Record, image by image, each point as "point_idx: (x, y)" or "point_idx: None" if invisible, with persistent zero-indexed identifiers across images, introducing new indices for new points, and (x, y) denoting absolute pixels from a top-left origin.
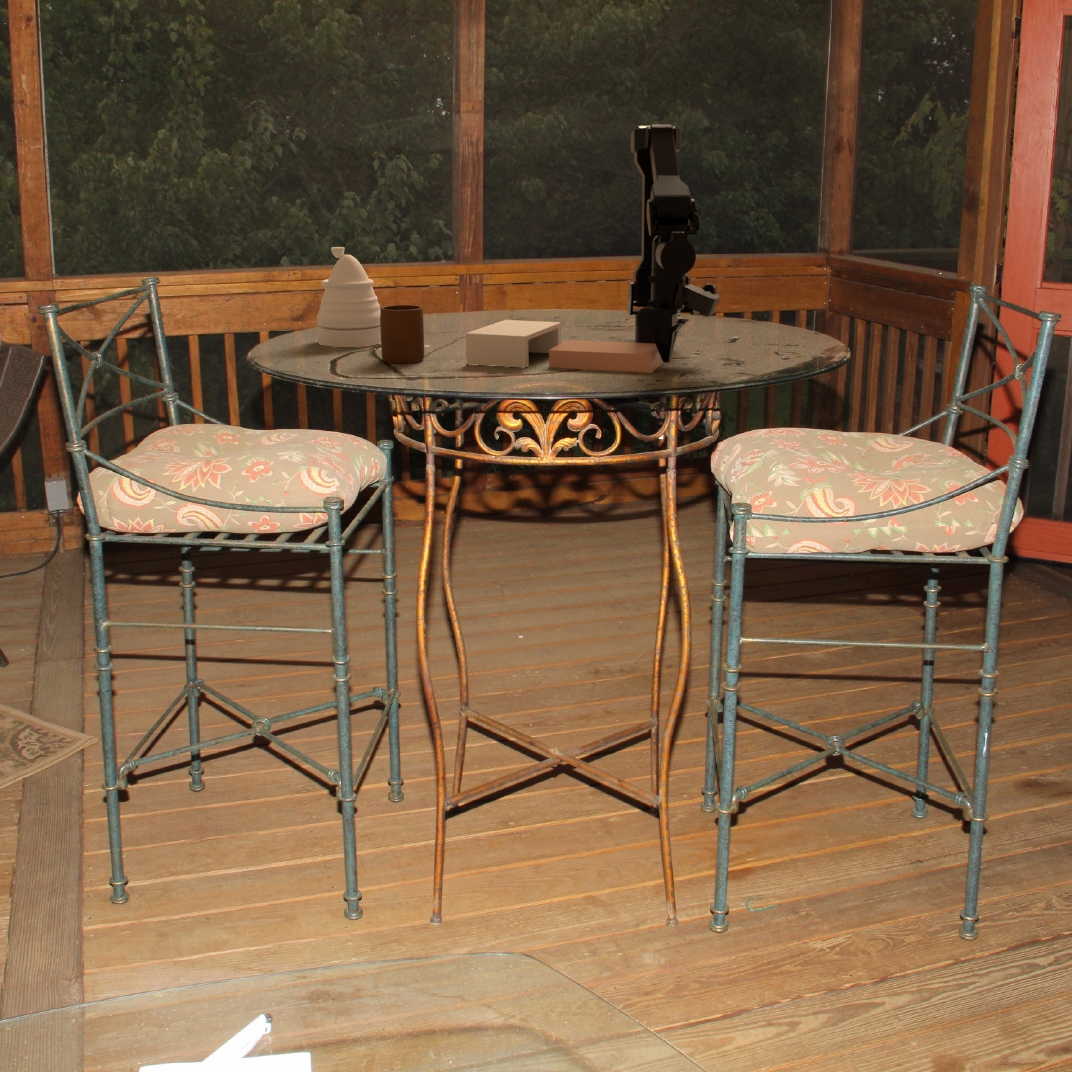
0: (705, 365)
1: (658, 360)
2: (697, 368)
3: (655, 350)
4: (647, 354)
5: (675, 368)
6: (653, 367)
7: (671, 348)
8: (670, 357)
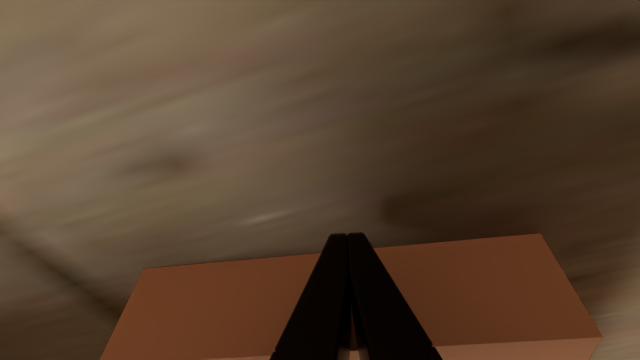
0: (89, 6)
1: None
2: (274, 22)
3: None
4: (592, 353)
5: (348, 167)
6: (496, 255)
7: (381, 308)
8: (343, 251)
